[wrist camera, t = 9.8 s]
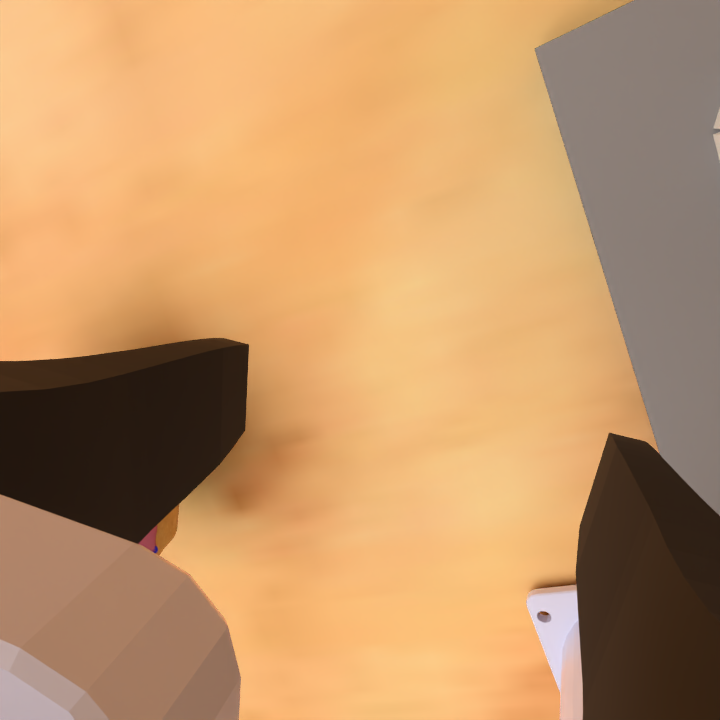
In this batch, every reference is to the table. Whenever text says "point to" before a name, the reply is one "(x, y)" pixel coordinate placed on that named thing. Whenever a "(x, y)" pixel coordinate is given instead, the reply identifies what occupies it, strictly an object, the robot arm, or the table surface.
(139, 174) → the table surface
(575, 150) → the duct board
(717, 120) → the sleeve
